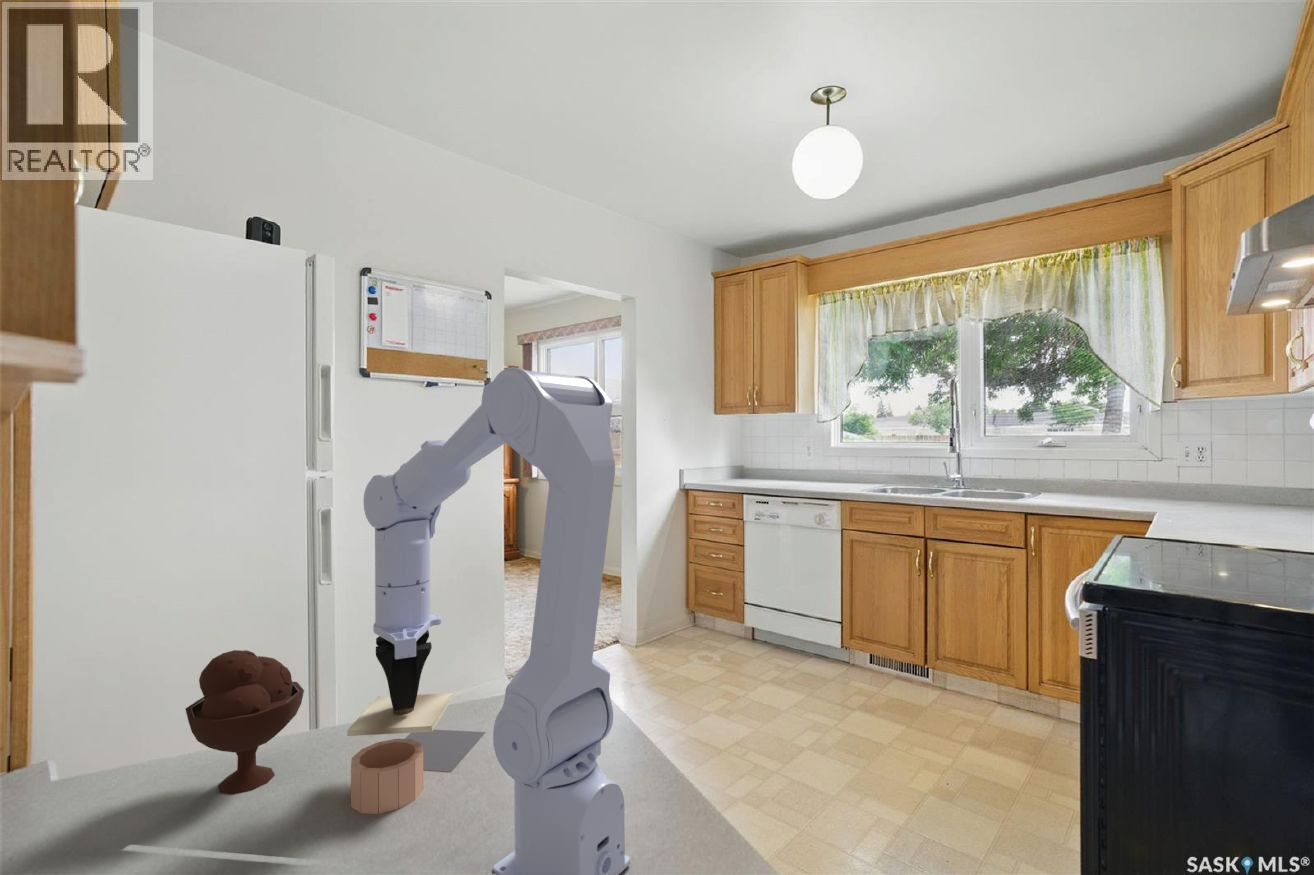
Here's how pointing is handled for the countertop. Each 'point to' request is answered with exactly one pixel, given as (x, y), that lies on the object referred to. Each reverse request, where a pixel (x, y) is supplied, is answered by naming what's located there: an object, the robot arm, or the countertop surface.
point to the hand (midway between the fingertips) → (403, 703)
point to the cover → (401, 716)
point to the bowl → (386, 776)
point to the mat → (445, 747)
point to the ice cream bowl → (243, 712)
